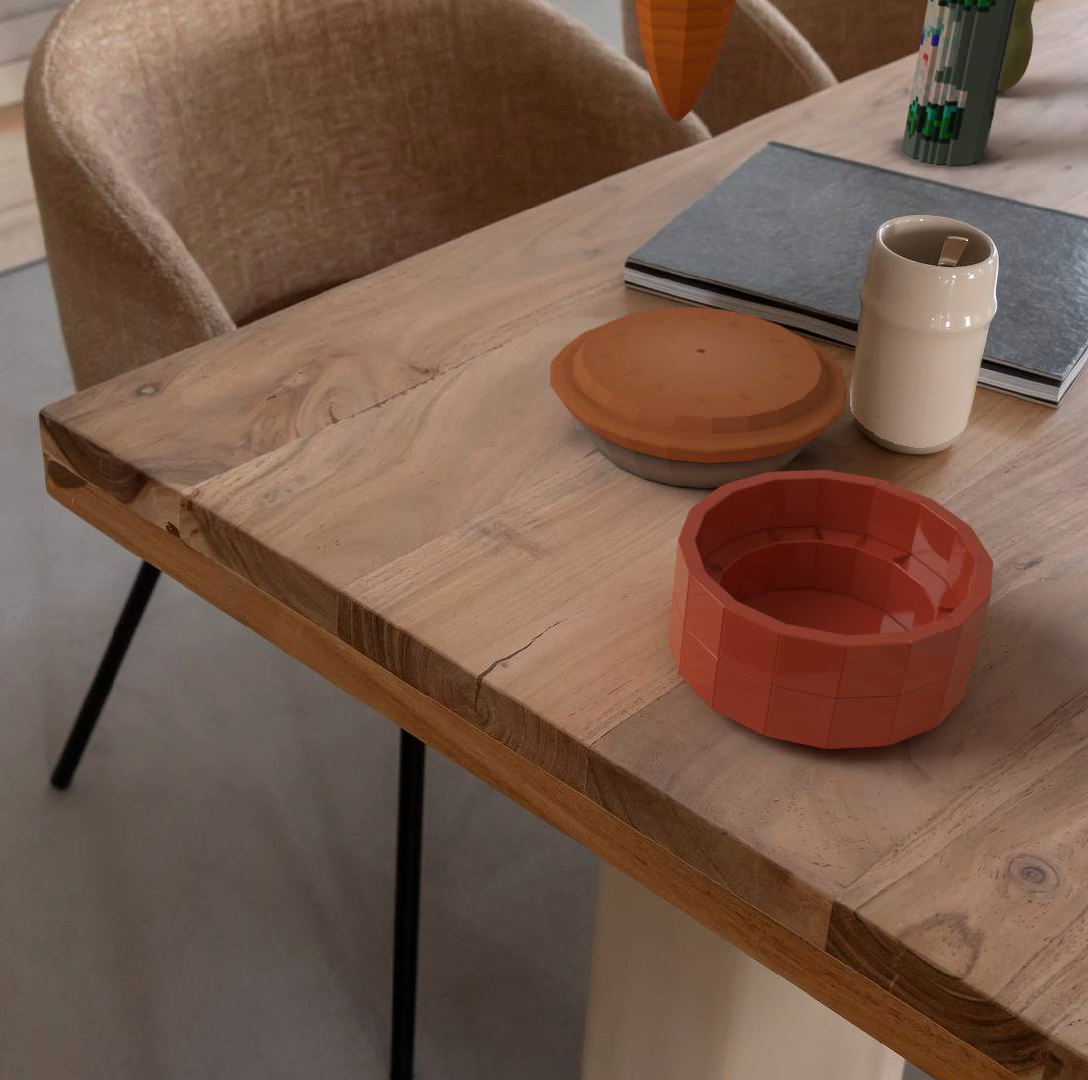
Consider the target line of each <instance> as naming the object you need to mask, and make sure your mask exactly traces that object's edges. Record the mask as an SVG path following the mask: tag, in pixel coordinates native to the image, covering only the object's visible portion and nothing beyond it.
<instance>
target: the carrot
mask: <svg viewBox="0 0 1088 1080" xmlns="http://www.w3.org/2000/svg"><path fill="white" fill-rule="evenodd" d="M735 4H736V0H635V7H636V16H637V23H638V30H639V37H640V42H641V43H640V44H641V51H642V54H643V57H644V60H645V64H646V68H647V71H648V74H649V77H650V80H651V83H652V86H653V88H654V90H655V92H656V94H657V97H658V99H659V101H660V104H661V106H662V109H663V111H664V112H665V113H666V114H667V115H668V117H670V119H671V120H672V121H673V122H674V123H680V122H681V121H682V120H683V119H684V118H685V117H686V116H687V115H688V114H690V113H691V111H692V110H693V108H694V107H695V105H696V103H697V101H698V100H699V98H700V96H701V95H702V93H703V91H704V89H705V88H706V86H707V84H708V82H709V81H710V78H711V76H712V74H713V71H714V69H715V67H716V64H717V62H718V61H719V58H720V55H721V53H722V51H723V47H724V43H725V40H726V36H727V33H728V30H729V27H730V23H731V20H732V16H733V13H734V12H733V11H734V9H735Z"/></svg>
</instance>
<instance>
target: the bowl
mask: <svg viewBox="0 0 1088 1080" xmlns="http://www.w3.org/2000/svg"><path fill="white" fill-rule="evenodd" d="M974 530H975V529H973V527H972V526H970V525H969V524H968V523H966V522H965V521H964V520H962V518H960V517H958V516H957V515H956V514H954V513H952V512H951V511H950V510H949V509H948V508H946V507H944V506H943V505H942V504H940V503H939V502H937V501H936V500H935V499H934V498H930V497H927V496H925V495H924V494H923V495H922V494H920V493H917V492H915V491H912V490H910V489H907V488H904V487H902V486H899V485H896V484H894V483H891V482H889V481H887V480H884V479H880V478H876V477H871V476H864V475H858V474H854V473H853V474H852V473H847V472H841V471H835V470H829V469H811V470H810V469H807V470H784V471H783V470H780V471H778V472H766V473H763V474H759V475H756V476H752V477H749V478H745V479H742V480H738V481H735V482H731V483H728V484H724V485H723V486H721V487H717V489H715V490H714V491H712V492H711V493H710V494H708V495H707V496H705V497H704V498H702V499H701V500H700V501H698V502H697V503H696V504H694V505H693V506H692V507H690V508H689V510H688V513H687V515H686V518H685V520H684V523H683V526H682V528H681V531H680V533H679V536H678V538H677V544H676V555H675V565H674V576H673V585H672V598H671V606H670V615H669V616H670V617H669V627H668V637H667V639H668V643H669V646H670V649H671V653H672V658H673V660H674V663H675V667H676V670H677V674H678V675H679V677H680V678H681V679H682V680H683V681H684V682H685V683H686V684H687V685H688V686H689V687H690V688H691V689H692V690H693V691H694V692H695V693H696V694H697V695H698V697H699V698H701V700H702V701H703V702H704V703H705V704H707V706H708V707H709V708H710V709H712V710H713V711H714V712H717V713H718V714H720V715H723V716H725V717H726V718H729V719H731V720H733V721H735V722H736V723H738V724H740V725H742V726H745V727H746V728H748V729H750V730H752V731H753V732H756V733H758V734H760V735H762V736H765V737H768V738H772V739H778V740H782V741H787V742H792V743H796V744H802V745H806V746H810V747H815V748H820V749H828V750H836V749H850V748H851V749H855V748H856V749H857V748H875V747H887V746H891V745H894V744H897V743H899V742H902V741H904V740H907V739H910V738H912V737H916V736H917V735H921V734H923V733H925V732H927V731H930V730H932V729H935V728H938V727H939V726H940V724H941V723H942V722H943V721H944V720H945V719H946V718H947V717H948V716H949V714H951V712H952V711H953V710H954V709H955V708H956V707H957V706H958V704H960V702H962V700H963V699H964V698H965V695H966V692H967V688H968V685H969V681H970V677H971V672H972V669H973V665H974V661H975V659H976V658H975V657H976V653H977V650H978V647H979V643H980V639H981V635H982V631H983V628H984V627H983V626H984V623H985V620H986V615H987V612H988V607H989V604H990V600H991V596H992V583H993V572H994V571H993V569H994V561H993V559H992V557H991V556H990V554H989V552H988V551H987V549H986V548H985V546H984V544H983V543H982V542H981V540H980V538H979V537H978V534H976V531H974Z"/></svg>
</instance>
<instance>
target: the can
mask: <svg viewBox="0 0 1088 1080" xmlns="http://www.w3.org/2000/svg"><path fill="white" fill-rule="evenodd" d="M1017 3H1018V0H927V3H926V4H927V5H926V10H925V15H924V20H923V25H922V26H923V27H922V32H921V38H920V44H919V49H918V54H917V61H916V67H915V72H914V78H913V83H912V89H911V93H910V101H909V106H908V112H907V117H906V123H905V127H904V135H903V140H902V145H901V150H902V151H903V152H904V153H905V154H906V155H907V156H909V157H910V158H911V159H918V160H919V161H920V162H921V163H922V162H924V163H925V162H927V163H928V164H934V165H936V166H937V165H938V166H939V165H940V166H941V165H946V166H947V167H952V166H969V165H973V164H974V163H980V162H981V161H982V160H983V159H985V157H986V155H987V149H988V144H989V139H990V136H991V135H990V134H991V130H992V125H993V121H994V116H995V110H996V106H997V101H998V97H999V93H1000V92H999V88H1000V83H1001V78H1002V74H1003V69H1004V64H1005V60H1006V55H1007V50H1008V45H1009V41H1010V36H1011V31H1012V27H1013V22H1014V17H1015V13H1016V8H1017Z"/></svg>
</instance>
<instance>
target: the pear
mask: <svg viewBox="0 0 1088 1080" xmlns="http://www.w3.org/2000/svg"><path fill="white" fill-rule="evenodd" d="M1034 6H1035V0H1018V3H1017V8H1016V13H1015V17H1014V22H1013V27H1012V31H1011V36H1010V41H1009V45H1008V50H1007V55H1006V60H1005V64H1004V69H1003V74H1002V78H1001V83H1000V88H999V92H998V93H1002V92H1006V91H1008V90H1009V89H1011V88H1013V87H1014V86H1016V85H1017V84H1018V83H1019V82H1020V81H1021V79H1022V78H1023V77H1024V75H1025V73H1026V71H1027V69H1028V67H1029V64H1030V60H1031V56H1032V52H1033V44H1034V28H1033V21H1032V13H1033V10H1034Z"/></svg>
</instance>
